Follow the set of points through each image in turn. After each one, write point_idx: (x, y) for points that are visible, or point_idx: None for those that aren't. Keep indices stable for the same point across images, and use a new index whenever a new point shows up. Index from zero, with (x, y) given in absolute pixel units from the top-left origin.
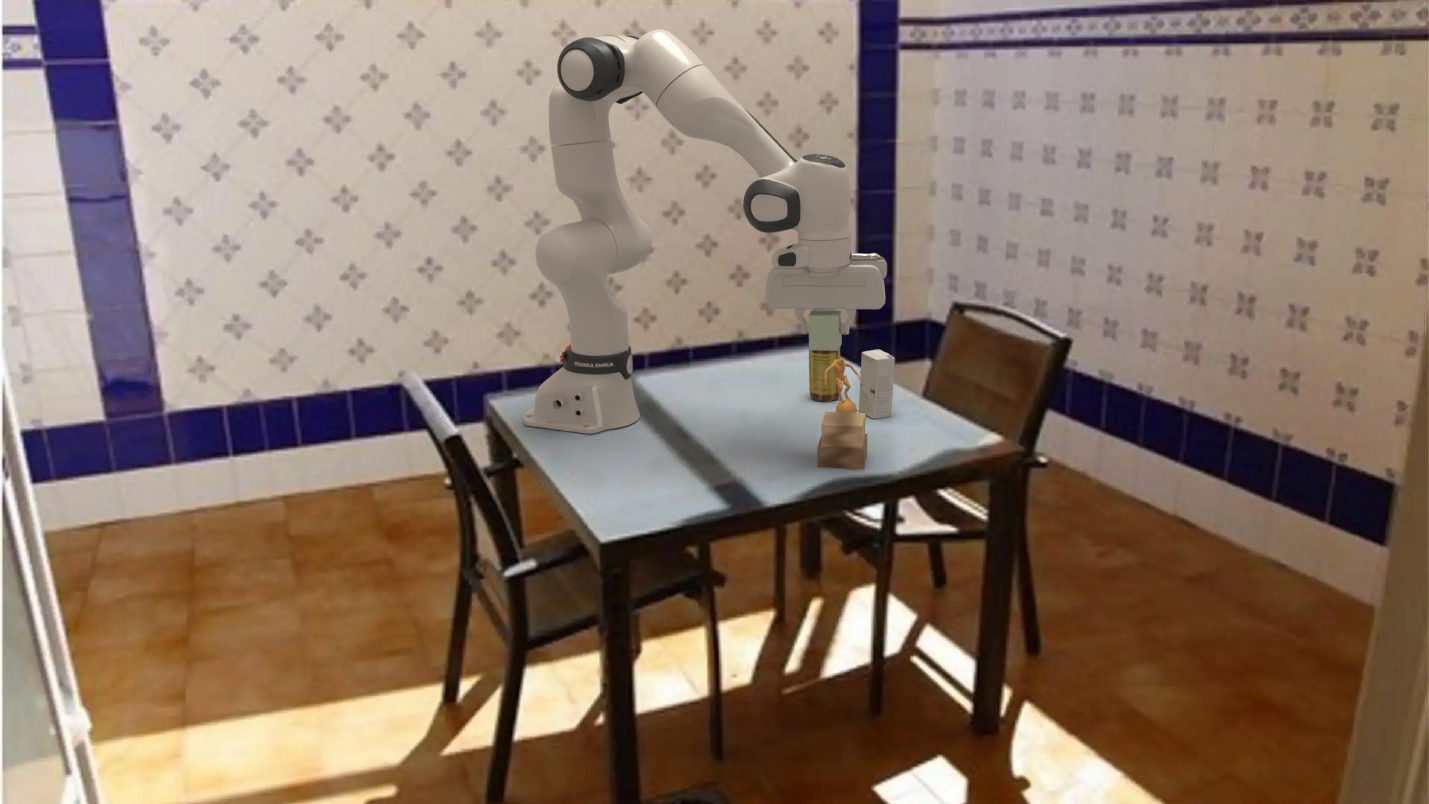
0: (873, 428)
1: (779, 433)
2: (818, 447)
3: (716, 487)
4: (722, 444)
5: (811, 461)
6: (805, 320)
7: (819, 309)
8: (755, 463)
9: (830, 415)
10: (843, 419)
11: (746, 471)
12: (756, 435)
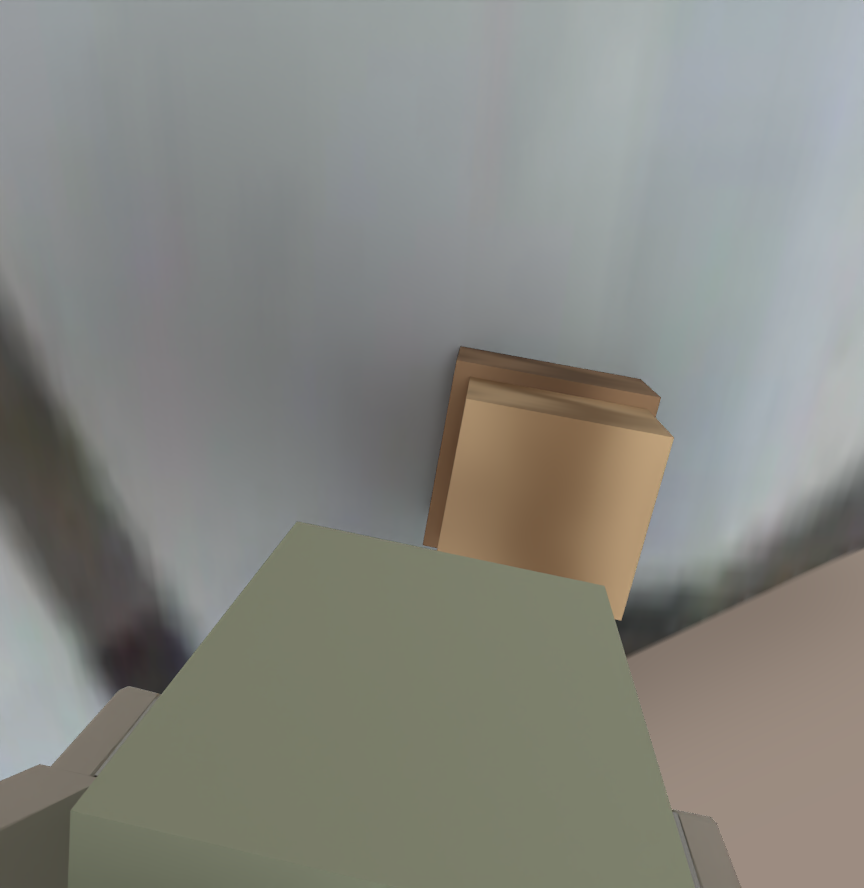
0: (736, 41)
1: (283, 116)
2: (427, 545)
3: (106, 657)
4: (58, 258)
5: (412, 456)
6: (68, 826)
7: (226, 874)
8: (207, 466)
9: (485, 461)
10: (543, 523)
11: (183, 537)
12: (183, 143)
